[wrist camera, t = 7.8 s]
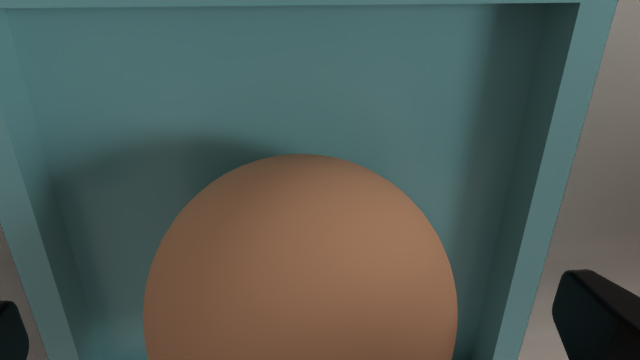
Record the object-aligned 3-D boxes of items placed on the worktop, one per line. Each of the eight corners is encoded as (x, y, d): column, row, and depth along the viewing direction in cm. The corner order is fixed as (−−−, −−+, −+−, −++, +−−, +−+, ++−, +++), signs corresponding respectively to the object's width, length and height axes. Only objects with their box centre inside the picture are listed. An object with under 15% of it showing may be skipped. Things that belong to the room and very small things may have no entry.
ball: (454, 230, 11) (573, 444, 7) (275, 342, 13) (283, 585, 8) (318, 51, 9) (370, 206, 5) (114, 207, 10) (10, 445, 6)
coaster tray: (577, -52, 9) (629, -40, 8) (482, 357, 14) (504, 405, 13) (-37, -51, 8) (-92, -38, 7) (94, 384, 13) (76, 438, 12)
